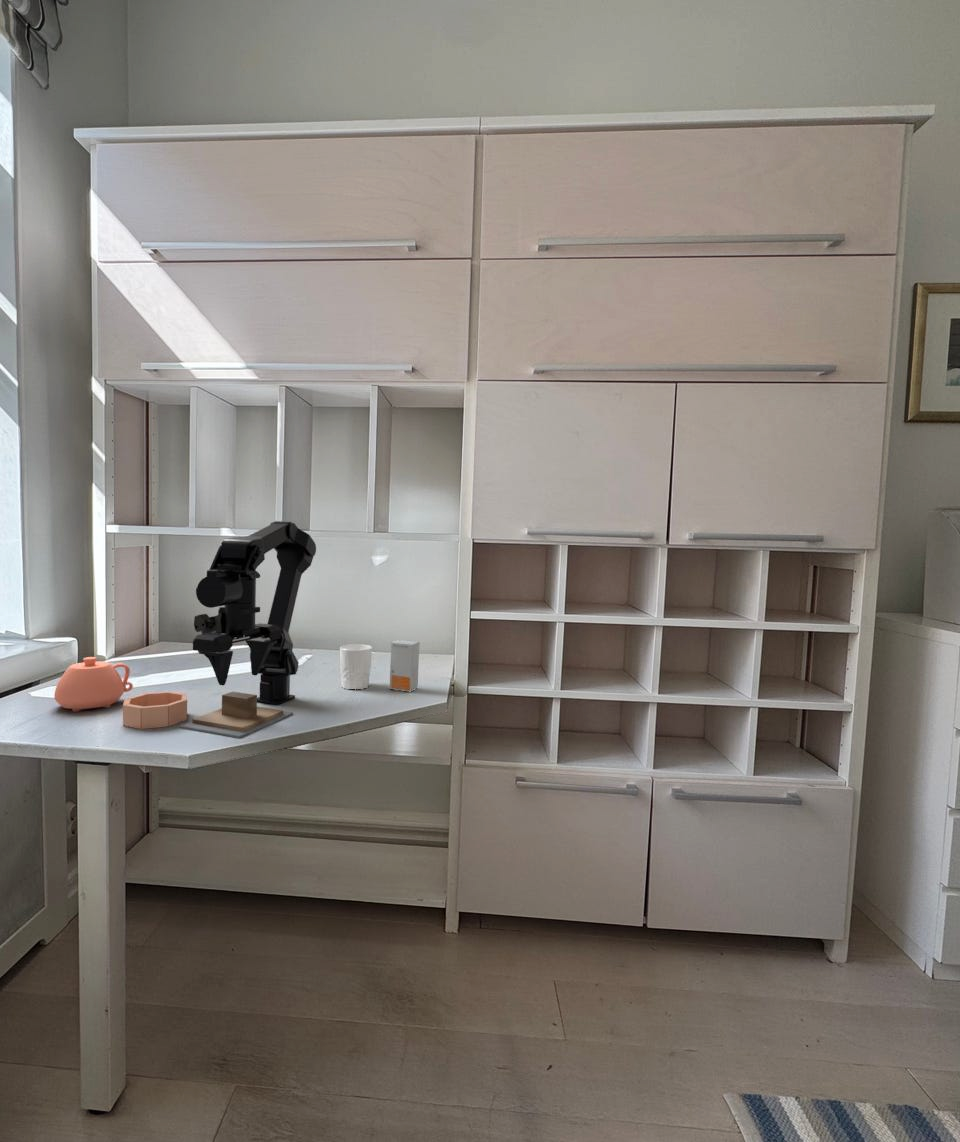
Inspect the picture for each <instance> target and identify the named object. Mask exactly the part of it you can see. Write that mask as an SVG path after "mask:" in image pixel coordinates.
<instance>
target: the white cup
mask: <svg viewBox="0 0 960 1142" xmlns="http://www.w3.org/2000/svg"><path fill="white" fill-rule="evenodd" d="M372 654H373V646H371V645H368V644H359V643H357V644H355V643H351V644H344V645H341V646H340V647H339V663H340V664H339V665H340V678H341V682H340V683H341V688H342V687H343V688H342V689H344V688H345V689H344V690H348V689H355V690H354V691H357V690H356V689H361V690H365V689H364V688H366V689H367V688H369V687H368V686H370V675H371V671H372V670H371V667H372Z"/></svg>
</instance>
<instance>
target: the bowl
mask: <svg viewBox="0 0 960 1142" xmlns="http://www.w3.org/2000/svg"><path fill="white" fill-rule="evenodd" d="M187 720H188V694H187V693H182V692H178V691H169V690H167V691H159V692H158V691H157V692H155V691H154V692H146V693H141V694H137V695H133V696H130V697H127V698H125V699H124V701H123V704H122V726H123V725H125V726H124V727H128V726H129V728H135V729H140V730H144V729H154V728H163V727H165V728H166V727H170V726H173V725H177V724H178V722H179V723H181V721H182V722H183V721H184V722H185V721H187Z"/></svg>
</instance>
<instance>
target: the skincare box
mask: <svg viewBox="0 0 960 1142" xmlns="http://www.w3.org/2000/svg"><path fill="white" fill-rule="evenodd" d="M390 644H391V645H390V665H389V667H390V671H389V690H390V689H395V690H394V691H398V690H404V691H413V690H414V689H416V688H417V687H418V686H419V661H420V660H419V659H420V641H413V640H402V639H396V640H394V641H392V642H391V643H390ZM417 689H418V688H417ZM417 689H416V690H417ZM404 691H403V692H404ZM414 691H415V690H414ZM414 691H413V692H414Z"/></svg>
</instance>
